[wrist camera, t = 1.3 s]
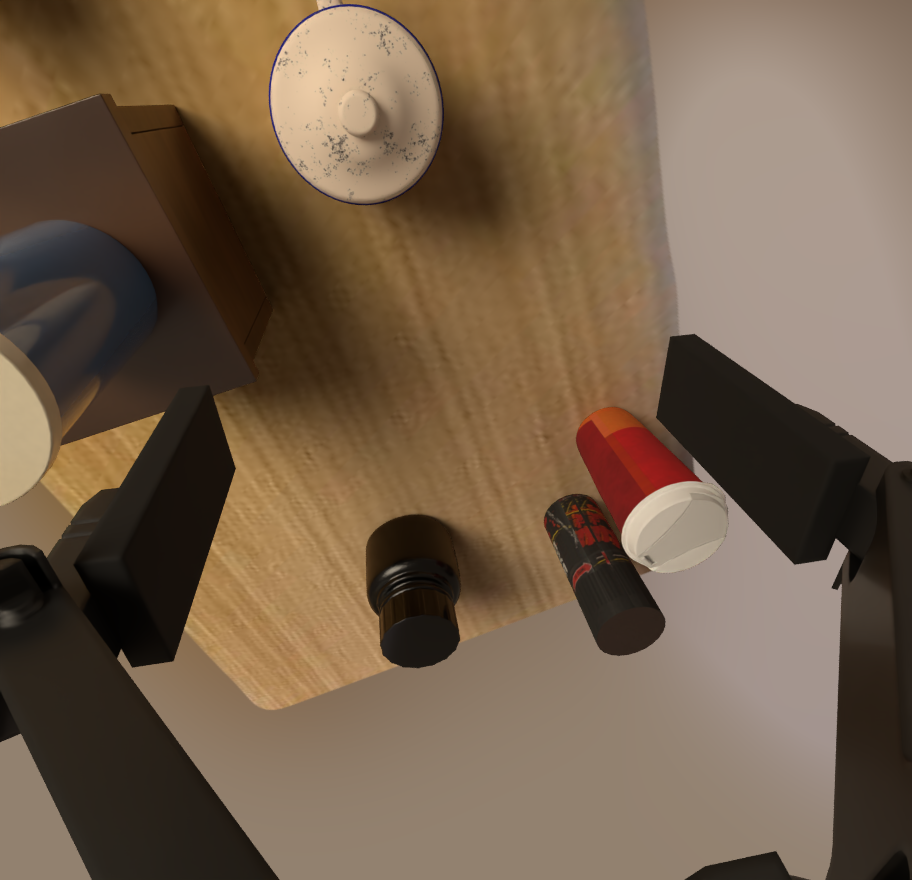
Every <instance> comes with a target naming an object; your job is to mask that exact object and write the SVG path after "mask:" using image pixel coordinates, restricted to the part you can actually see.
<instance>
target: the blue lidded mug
mask: <svg viewBox="0 0 912 880" xmlns="http://www.w3.org/2000/svg"><path fill="white" fill-rule="evenodd" d="M157 314H158V304H157V297H156V293H155V289H154V287H153V284H152V281H151V279H150V277H149V276H148V274H147V272H146V270H145V269H144V267H143V266H142V264H141V263H140V262H139V261H138V260H137V258H136V257H135V256H134V255H133V254H132V253H131V252H130V251H129V250H128V249H127V248H126V247H125V246H123V245H122V244H121V243H119V242H118V241H117V240H115V239H114V238H112V237H111V236H109V235H107V234H106V233H104V232H102V231H100V230H98V229H95V228H93V227H90V226H87V225H84V224H81V223H77V222H72V221H65V220H48V221H41V222H37V223H33V224H30V225H28V226H25V227H22V228H20V229H17V230H15V231H12V232H9V233H7V234H4V235H1V236H0V507H1V506H3V505H6V504H8V503H10V502H13V501H15V500H17V499H18V498H20V497H22V496H24V495H25V494H26V493H28V492H29V491H30V490H31V489H33V488H34V487H35V486H36V485H37V483H38V482H39V481H40V480H41V479H42V478H43V477H44V475H45V474H46V473H47V472H48V470H49V469H50V468H51V466H52V465H53V463H54V461H55V460H56V458H57V455H58V452H59V449H60V446H61V439H62V437H63V436H64V435H65V434H66V433H67V432H68V430H69V429H70V428H71V427H72V426H73V425H74V424H75V422H76V421H77V420H78V419H79V418H80V417H81V415H82V414H83V413H84V412H85V411H86V410H87V409H88V407H89V406H90V405H91V404H92V403H93V402H94V401H95V399H96V398H97V397H98V396H99V395H100V394H101V392H102V391H103V390H104V389H105V388H106V387H107V386H108V384H109V383H110V382H111V381H112V380H113V379H114V378H115V376H116V375H117V374H118V373H119V372H120V371H121V369H122V368H123V367H124V366H125V365H126V364H127V363H128V361H129V360H130V359H131V358H132V357H133V356H134V354H135V353H136V352H137V351H138V350H139V349H140V348H141V346H142V345H143V344H144V343H145V342H146V341H147V340H148V338H149V337H150V335H151V334H152V332H153V330H154V327H155V325H156V320H157Z"/></svg>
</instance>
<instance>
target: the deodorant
mask: <svg viewBox="0 0 912 880" xmlns="http://www.w3.org/2000/svg"><path fill="white" fill-rule="evenodd" d="M544 525H545V528H546V530H547V533H548V535H549V537H550V539H551V542H552V544H553V546H554V548H555V551H556V553H557V555H558V557H559V560H560V562H561V564H562V566H563V569H564V571H565V573H566V575H567V578H568V580H569V582H570V584H571V587H572V589H573V591H574V593H575V596H576V598H577V600H578V602H579V605H580V607H581V609H582V611H583V614H584V616H585V618H586V620H587V623H588V625H589V627H590V629H591V631H592V634H593V636H594V638H595V640H596V643H597V645H598V647H599V648H600V650H602V651H603V652H604V653H607V654H610V655H617V656H620V655H629V654H632V653H636V652H638V651H640V650H643V649H645V648H647V647H648V646H650V645H651V644H653V643H654V642H655V641H656V640H657V639H658V638H659V637H660V635H661V634H662V633H663V630H664V628H665V618H664V616H663V614H662V612H661V611H660V609H659V607H658V605H657V604H656V602H655V600H654V599H653V597H652V595H651V594H650V592H649V590H648V589H647V587H646V585H645V584H644V582H643V580H642V579H641V577H640V575H639V574H638V572H637V570H636V569H635V567H634V565H633V564H632V562H631V560H630V559H629V557H628V555H627V554H626V552H625V550H624V549H623V547H622V545H621V544H620V542H619V540H618V539H617V537H616V535H615V534H614V532H613V530H612V529H611V527H610V525H609V524H608V522H607V520H606V518H605V517H604V515H603V513H602V512H601V510H600V508H599V507H598V505H597V503H596V502H595V501H594V500H593V499H592V498H591V497H589V496H587V495H582V494H572V495H568V496H565V497H563V498H561V499H558V500H557V501H556V502H554V503H553V504H552V505H551V506H550V507H549V509H548V510H547V512H546V514H545V518H544Z"/></svg>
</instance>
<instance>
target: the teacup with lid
mask: <svg viewBox="0 0 912 880" xmlns="http://www.w3.org/2000/svg"><path fill="white" fill-rule="evenodd" d="M316 1H317V5H318V8H319V11H317V12H314V13H313V14H311V15H309V16H308V17H306V18H305V19H303V20H302V21H301V22H300V23H298V24H297V25H296V27H295V28H294V29H293V30H292V31H291V32H290V33H289V35H288V36H287V37H286V38H285V40H284V42H283V43H282V45H281V47H280V49H279V51H278V53H277V55H276V58H275V61H274V64H273V67H272V72H271V77H270V83H269V107H270V115H271V120H272V125H273V128H274V131H275V135H276V137H277V140H278V142H279V145H280V147H281V149H282V151H283V153H284V154H285V156H286V158H287V159H288V161H289V162H290V164H291V165H292V166H293V168H294V169H295V170H296V171H297V173H298V174H299V175H300V176H301V177H302V178H303V179H304V180H305V181H306V182H307V183H309V184H310V185H311V186H312V187H314V188H315V189H316V190H318V191H319V192H321V193H323V194H324V195H326V196H328V197H330V198H333V199H335V200H338V201H341V202H344V203H349V204H355V205H374V204H380V203H384V202H387V201H390V200H392V199H395V198H397V197H399V196H401V195H402V194H404V193H405V192H407V191H408V190H410V189H411V188H412V187H413V186H414V185H415V184H417V182H418V181H419V180H420V179H421V178H422V177H423V176H424V174H425V173H426V172H427V170H428V169H429V167H430V165H431V164H432V162H433V160H434V158H435V155H436V153H437V150H438V147H439V144H440V140H441V136H442V131H443V121H444V108H443V97H442V91H441V87H440V82H439V79H438V76H437V73H436V71H435V68H434V66H433V63H432V62H431V60H430V58H429V56H428V54H427V52H426V51H425V49H424V48H423V46H422V45H421V44H420V42H419V41H418V40H417V38H416V37H415V36H414V35H413V34H412V33H411V32H410V31H409V30H408V29H407V28H406V27H405V26H404V25H402V24H401V23H400V22H398V21H397V20H396V19H394V18H393V17H391V16H389V15H387V14H386V13H384V12H381V11H379V10H377V9H374V8H370V7H367V6H362V5H354V4H343V3H342V0H316Z"/></svg>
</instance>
